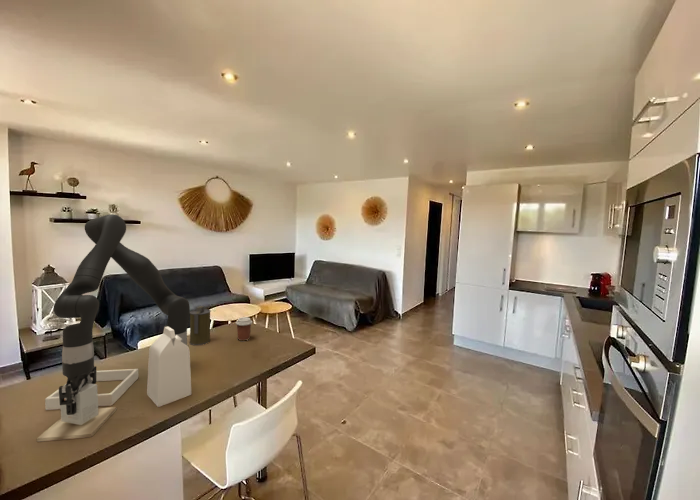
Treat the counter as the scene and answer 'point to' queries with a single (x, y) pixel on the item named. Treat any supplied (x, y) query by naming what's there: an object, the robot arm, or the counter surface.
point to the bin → (103, 399)
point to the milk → (168, 369)
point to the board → (77, 427)
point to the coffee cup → (243, 328)
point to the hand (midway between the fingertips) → (79, 406)
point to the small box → (83, 405)
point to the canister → (199, 326)
